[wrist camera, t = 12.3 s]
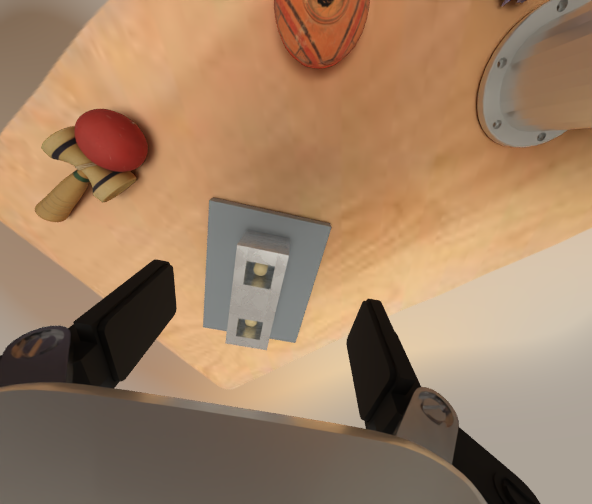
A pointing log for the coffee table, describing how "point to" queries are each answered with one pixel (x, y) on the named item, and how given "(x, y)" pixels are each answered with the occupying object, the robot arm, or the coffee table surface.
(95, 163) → the kendama
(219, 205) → the pin board
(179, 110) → the coffee table surface
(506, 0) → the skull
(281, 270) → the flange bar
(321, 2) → the pot
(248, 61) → the coffee table surface
